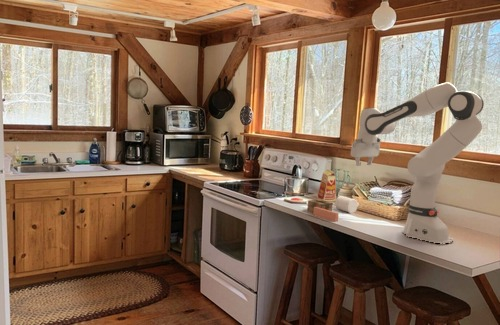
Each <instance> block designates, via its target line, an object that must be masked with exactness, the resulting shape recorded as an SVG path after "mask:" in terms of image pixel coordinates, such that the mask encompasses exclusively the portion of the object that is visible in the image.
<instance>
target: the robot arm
mask: <svg viewBox="0 0 500 325" xmlns="http://www.w3.org/2000/svg"><path fill="white" fill-rule="evenodd" d="M484 104H485V103H484V99H483V98H482V96H480V94H477V93H475V92H473V91H470V90H457V88H456V86H454V85H453V84H452V83H450V82H443V83H440V84H436V85H435V86H432V87H430V88H428V89H426V90H424V91H422V92H420V93H419V94H417V95H415V96H413V97H412V98H411V99H409V100H406V101H405V102H402V103H401V104H399V105H397V106H395V107H392V108H391V109H388V110H386V111H384V112H382V111H380V110H379V109H378V108H377V107H374V106H373V107H364V108H363V109H362V110H361V112H360V114H359V115H360V116H359V123H358V125H359V126H358V127H359V129H358V133H357V138H355V139H354V140H353V141H352V145H351V148H350V156H351V157H352V158H354V160H355V166H356V167H357V166H358V167H361V163H362V162H361V161H360V159H361V158H368V161H367V162H366V165H367V166H372V162H373V161H374V159H375V157H377V158H378V156H379V155H380V151H381V150H380V149H381V142H382V140H381V138H380V137H378V136H377V135H389V134H392V133H393V132H394V130H395V129H396V125H397V123H396V122H398V121H401V120H403V119H405V118H412V117H413V118H414V117H425V116H426V117H427V116H428V115H433V114H435V113H437V112H439V111H441V110H444V109H446V108H448V109H449V111H450V112H451V114H452V116H453V118H454V119H455V122H454V123H453V124H452V125H450V126H449V127H448V128H447V130H445V132H443V133H442V134H440V136H439V137H437V139H436V140H434V141H433V142H432V143H431V144H429V145H428V146H426V147H425V148H423V149H422V150H421V151H419V152H418V153H417V154H416V155H415V156H412V157H411V159H409V160H408V163H407V171H408V173H409V174H410V175H411V176H413V177H415V180H414V183H413V184H412V186H411V190H410V197H409V204H408V205H407V206H408V208H407V218H406V222H405V226H404V227H403V228H404V229H403V231H402V233H403V234H404V235H405V234H406V235H405V236H406V237H407V236H408V237H407V238H409V237H412V238H411V239H413V238H417V239H416V240H418V239H421V240H420V241H422V240H426V241H430V242H435V243H449V242H452V241H453V242H454V238H453V237H450V236H449V227H448V225H446V223H444V222H443V220H441V219H440V218H439V217H438V213H439V212H440V209H439V210H437V209H436V206H435V205H436V197H437V190H438V187H439V184H440V181H441V177H442V175H443V171H444V170H445V168H446V163H449V161H451V160H452V159H454V158H456V156H458V155H459V154H460V153H461V152H462V151H464V150H465V149H466V148H467V147H468V146H469V145H471V143H472V142H473V141H474V140H475V139H476V138H477V137H478V135H480V133H481V132H482V130H483V123H482V122H481V121H480V119H479V118H478V116H477V115H478V114H480V113H481V112H482V111H483V109H484V107H485V106H484ZM426 241H425V242H426ZM430 242H429V243H430ZM453 242H452V243H453ZM435 243H434V244H435ZM449 244H450V243H449Z"/></svg>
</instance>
